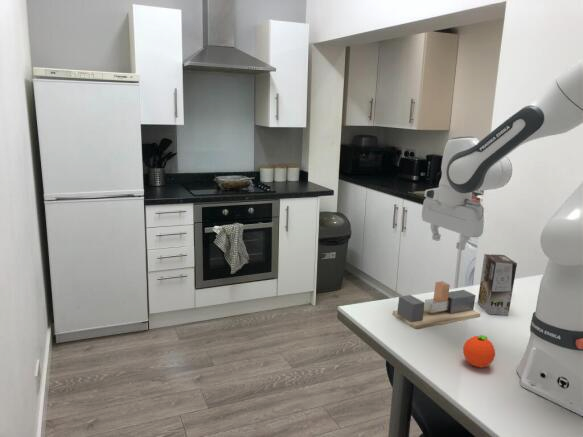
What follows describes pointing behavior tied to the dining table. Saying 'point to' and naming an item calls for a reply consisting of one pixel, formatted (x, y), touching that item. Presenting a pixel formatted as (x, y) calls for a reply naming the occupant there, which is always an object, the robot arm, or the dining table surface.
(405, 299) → the socket block
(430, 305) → the bar
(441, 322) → the oak board
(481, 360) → the clementine
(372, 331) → the dining table surface
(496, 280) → the coffee box
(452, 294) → the sleeve
